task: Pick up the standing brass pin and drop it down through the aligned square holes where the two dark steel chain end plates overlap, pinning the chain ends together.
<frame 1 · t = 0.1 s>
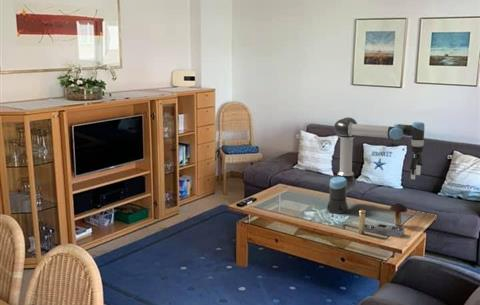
hand: (415, 176, 331), 28 cm above the table, fingers open, 13 cm apart
brass pin: (361, 233, 308), on the table
chain ends: (381, 232, 310), on the table
decorative mushroom: (397, 225, 321), on the table
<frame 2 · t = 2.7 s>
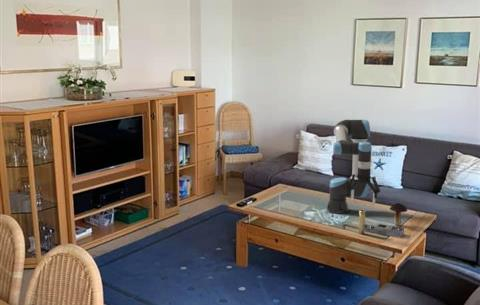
hand: (362, 201, 303), 21 cm above the table, fingers open, 13 cm apart
nothing on the table moved.
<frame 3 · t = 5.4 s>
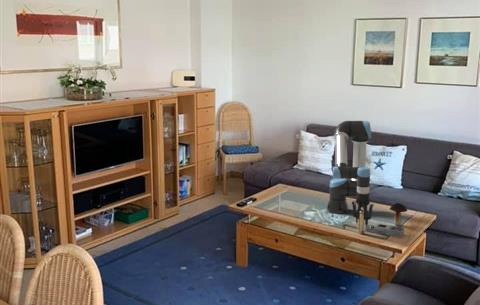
hand: (361, 228, 307), 3 cm above the table, fingers closed on brass pin, 3 cm apart
brass pin: (361, 233, 308), on the table, touching gripper
everything else where it was.
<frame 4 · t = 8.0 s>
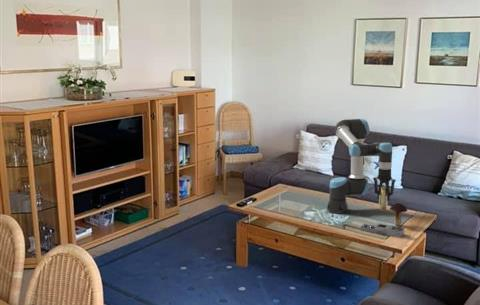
hand: (383, 205, 306), 18 cm above the table, fingers closed on brass pin, 3 cm apart
brass pin: (383, 209, 306), point 15 cm above the table, touching gripper
everything else where it was.
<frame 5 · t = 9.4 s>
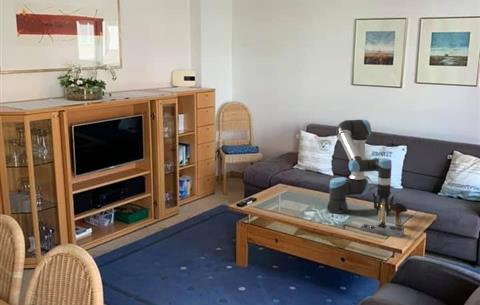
hand: (382, 220, 308), 8 cm above the table, fingers closed on brass pin, 3 cm apart
brass pin: (382, 225, 309), point 5 cm above the table, touching gripper
everything else where it was.
when the fingers open (6 cm above the table, at t = 10.4 s): brass pin drops 2 cm, resting in chain ends.
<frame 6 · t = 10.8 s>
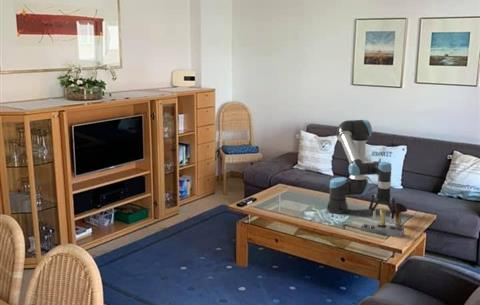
hand: (382, 221, 308), 7 cm above the table, fingers open, 10 cm apart
brass pin: (381, 232, 310), resting in chain ends
everything else where it was.
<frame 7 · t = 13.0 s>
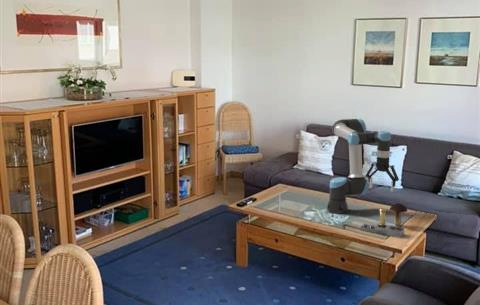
hand: (381, 189, 310), 26 cm above the table, fingers open, 13 cm apart
nothing on the table moved.
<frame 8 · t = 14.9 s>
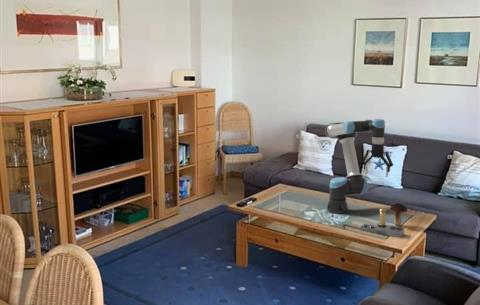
hand: (376, 175, 322), 32 cm above the table, fingers open, 13 cm apart
nothing on the table moved.
at the end: brass pin 0.0 cm off-centre on the chain ends, point 0.0 cm above the chain ends's base; brass pin tilted 0°; the gripper is holding nothing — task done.
